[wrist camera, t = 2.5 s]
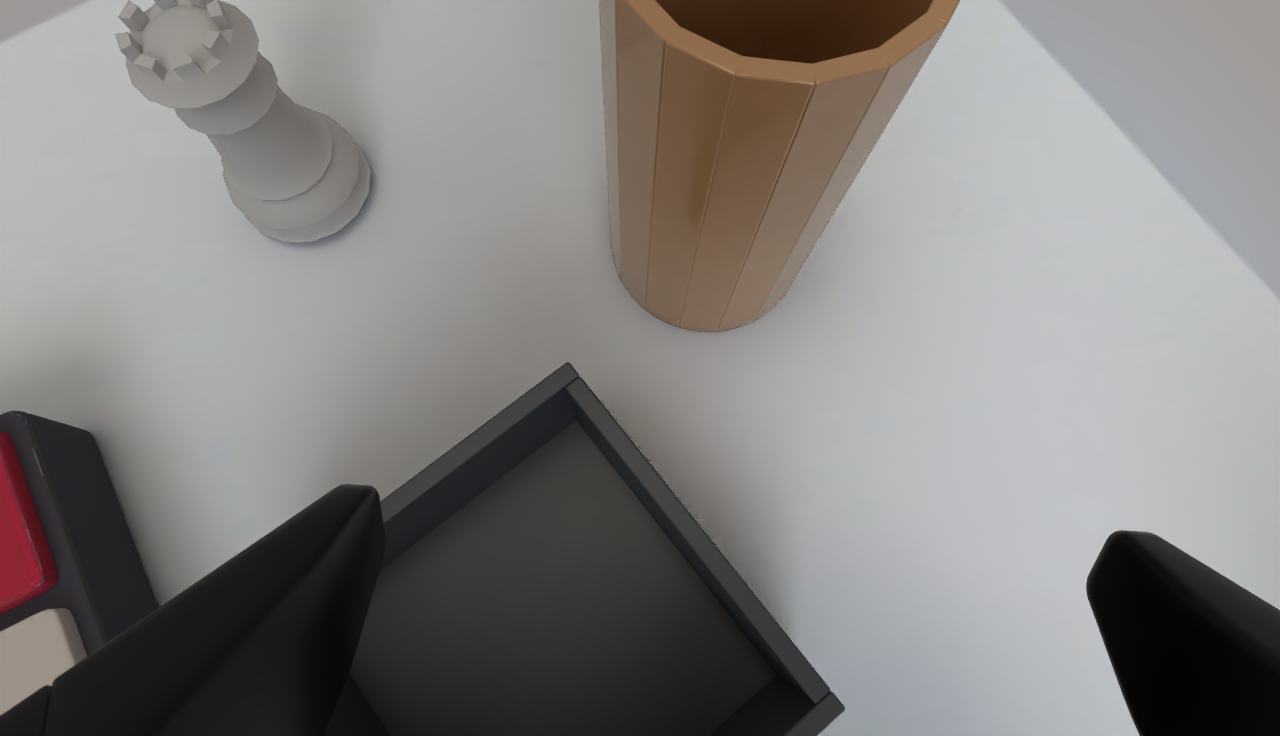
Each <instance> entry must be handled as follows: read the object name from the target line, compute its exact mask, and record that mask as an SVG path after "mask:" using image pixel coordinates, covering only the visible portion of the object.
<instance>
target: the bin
mask: <svg viewBox="0 0 1280 736" xmlns="http://www.w3.org/2000/svg"><path fill="white" fill-rule="evenodd" d="M380 504H381V510H382V516H383V522H384V528H385V534H386V547H385V553H384V557H383V561H382V564H381V568H380V571H379V575H378V578H377V581H376V585H375V588H374V592H373V595H372V599H371V602H370V605H369V609H368V612H367V616H366V619H365V623H364V626H363V630H362V633H361V636H360V640H359V643H358V647H357V650H356V653H355V657H354V660H353V663H352V666H351V669H350V672H349V675H348V677H347V680H346V682H345V685H344V688H343V690H342V693H341V695H340V697H339V700H338V702H337V705H336V707H335V709H334V712H333V714H332V717H331V719H330V721H329V724H328V726H327V729H326V731H325V733H324V736H817V735H818V734H819V733H820V732H821V731H823V730H824V729H825V728H826V727H827V726H828V725H829V724H830V723H831V722H832V721H833V720H834V719H835V718H837V717H838V716H839V715H840V714H841V713H842V712H843V711H844V709H845V707H844V706H843V704H842V703H841V702H840V701H839V699H838V698H837V697H836V696H835V694H834V693H833V692H831V691H830V688H829V687H828V686H827V684H826V683H825V682H824V681H823V679H822V678H821V677H820V676H819V674H818V673H817V672H816V671H815V669H814V668H813V667H812V666H811V664H810V663H809V662H808V661H807V659H806V658H805V657H804V656H803V654H802V653H801V652H800V651H799V649H798V648H797V647H796V646H795V644H794V643H793V642H792V640H791V639H790V638H789V637H788V635H787V634H786V633H785V632H784V630H783V629H782V628H781V627H780V625H779V624H778V623H777V622H776V620H775V619H774V618H773V617H772V615H771V614H770V613H769V612H768V610H767V609H766V608H765V607H764V605H763V604H762V603H761V602H760V600H759V599H758V598H757V597H756V595H755V594H754V593H753V592H752V590H751V589H750V588H749V587H748V585H747V584H746V583H745V582H744V580H743V579H742V578H741V577H740V575H739V574H738V573H737V572H736V570H735V569H734V568H733V567H732V565H731V564H730V563H729V562H728V560H727V559H726V558H725V557H724V555H723V554H722V553H721V552H720V550H719V549H718V548H717V547H716V545H715V544H714V543H713V542H712V540H711V539H710V538H709V537H708V535H707V534H706V533H705V532H704V530H703V529H702V528H701V527H700V525H699V524H698V523H697V522H696V520H695V519H694V518H693V517H692V515H691V514H690V513H689V512H688V510H687V509H686V508H685V507H684V505H683V504H682V503H681V502H680V500H679V499H678V498H677V497H676V495H675V494H674V493H673V492H672V490H671V489H670V488H669V487H668V485H667V484H666V483H665V482H664V480H663V479H662V478H661V477H660V475H659V474H658V473H657V472H656V470H655V469H654V468H653V467H652V465H651V464H650V463H649V462H648V460H647V459H646V458H645V457H644V455H643V454H642V453H641V452H640V450H639V449H638V448H637V447H636V445H635V444H634V443H633V442H632V440H631V439H630V438H629V437H628V435H627V434H626V433H625V432H624V430H623V429H622V428H621V427H620V425H619V424H618V423H617V422H616V420H615V419H614V418H613V417H612V415H611V414H610V413H609V412H608V410H607V409H606V408H605V407H604V405H603V404H602V403H601V402H600V400H599V399H598V398H597V397H596V395H595V394H594V393H593V392H592V390H591V389H590V388H589V387H588V385H587V384H586V383H585V382H584V380H583V379H582V378H581V377H579V374H578V373H577V372H576V370H575V369H574V368H573V367H572V365H571V364H570V363H569V362H567V363H565V364H564V365H562V366H561V367H560V368H558V369H557V370H556V371H554V372H553V373H552V374H550V375H549V376H548V377H546V378H545V379H544V380H542V381H541V382H540V383H538V384H537V385H536V386H534V387H533V388H532V389H530V390H529V391H528V392H526V393H525V394H524V395H522V396H521V397H520V398H518V399H517V400H516V401H514V402H513V403H512V404H510V405H509V406H508V407H506V408H505V409H504V410H502V411H501V412H500V413H498V414H497V415H496V416H494V417H493V418H492V419H490V420H489V421H488V422H486V423H485V424H484V425H482V426H481V427H480V428H478V429H477V430H476V431H474V432H473V433H472V434H470V435H469V436H468V437H466V438H465V439H464V440H462V441H461V442H460V443H458V444H457V445H456V446H454V447H453V448H452V449H450V450H449V451H448V452H446V453H445V454H444V455H442V456H441V457H440V458H438V459H437V460H436V461H434V462H433V463H432V464H430V465H429V466H428V467H426V468H425V469H424V470H422V471H421V472H419V473H418V474H417V475H415V476H414V477H413V478H411V479H410V480H409V481H407V482H406V483H405V484H403V485H402V486H401V487H399V488H398V489H397V490H395V491H394V492H393V493H391V494H390V495H389V496H387V497H386V498H385V499H383V500H382V501H381V502H380Z"/></svg>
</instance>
